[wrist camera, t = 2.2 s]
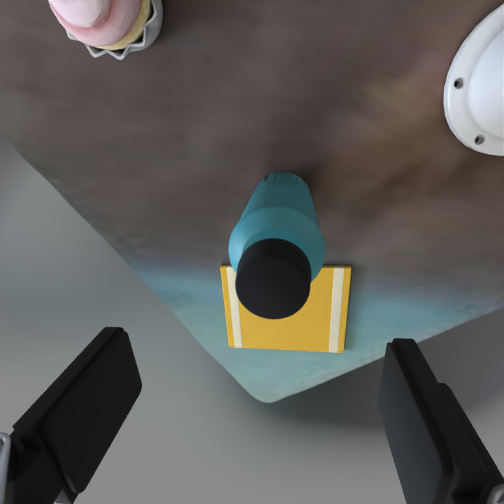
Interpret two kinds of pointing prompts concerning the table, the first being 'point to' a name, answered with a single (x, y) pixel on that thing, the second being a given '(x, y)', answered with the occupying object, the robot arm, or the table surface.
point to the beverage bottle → (277, 247)
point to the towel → (293, 316)
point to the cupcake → (110, 24)
